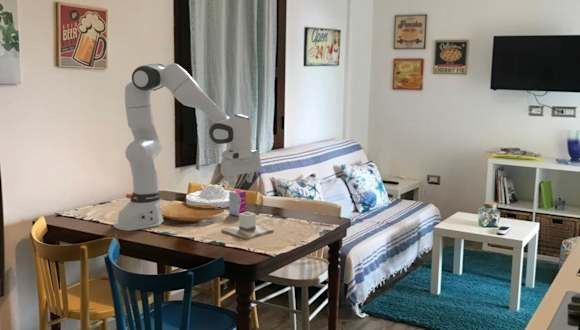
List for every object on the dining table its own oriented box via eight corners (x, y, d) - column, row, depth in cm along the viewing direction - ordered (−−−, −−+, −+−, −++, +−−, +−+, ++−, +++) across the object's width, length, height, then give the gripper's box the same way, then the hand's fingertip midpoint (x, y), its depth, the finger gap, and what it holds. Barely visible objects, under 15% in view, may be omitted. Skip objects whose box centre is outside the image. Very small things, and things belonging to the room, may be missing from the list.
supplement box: (238, 217, 296) (237, 193, 294) (228, 215, 299) (228, 191, 297) (246, 214, 300) (246, 191, 298) (237, 212, 304) (236, 189, 302)
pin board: (246, 239, 262) (246, 229, 261) (221, 231, 273) (221, 221, 272) (273, 231, 273) (273, 221, 272) (249, 224, 284) (249, 214, 283)
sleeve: (247, 231, 269) (246, 215, 268) (239, 229, 272) (239, 213, 271) (255, 229, 273) (255, 213, 271) (247, 227, 276) (247, 211, 275)
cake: (220, 212, 306) (219, 192, 304) (174, 205, 319) (174, 186, 318) (251, 199, 330) (250, 181, 328) (207, 193, 343) (207, 176, 342)
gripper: (254, 148, 279) (254, 179, 282) (218, 153, 265) (218, 185, 268) (264, 150, 275) (263, 181, 278) (227, 155, 261) (227, 188, 264)
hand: (241, 183), depth 273 cm, fingers open, 8 cm apart
